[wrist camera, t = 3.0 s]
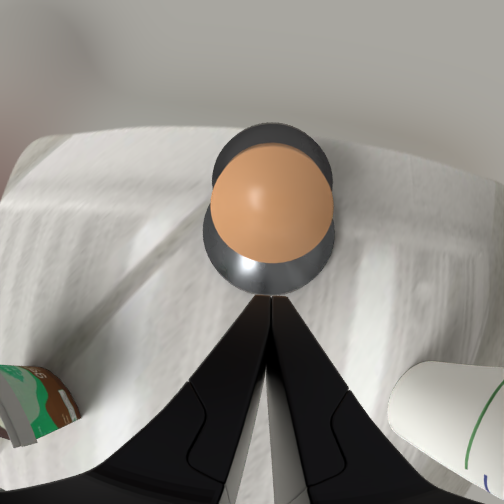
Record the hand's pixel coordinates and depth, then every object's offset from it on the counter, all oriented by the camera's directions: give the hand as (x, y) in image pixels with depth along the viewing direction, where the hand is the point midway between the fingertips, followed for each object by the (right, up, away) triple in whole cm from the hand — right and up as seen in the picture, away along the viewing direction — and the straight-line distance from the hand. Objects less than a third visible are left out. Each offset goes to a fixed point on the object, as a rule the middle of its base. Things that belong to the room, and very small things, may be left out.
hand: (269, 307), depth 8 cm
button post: (+1, +3, +15) cm, 15 cm away
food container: (-21, -11, +12) cm, 26 cm away
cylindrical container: (+14, -11, +11) cm, 21 cm away
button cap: (+1, +3, +10) cm, 10 cm away
